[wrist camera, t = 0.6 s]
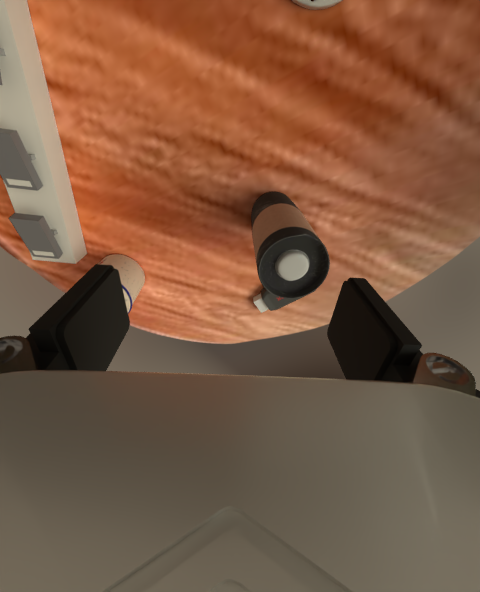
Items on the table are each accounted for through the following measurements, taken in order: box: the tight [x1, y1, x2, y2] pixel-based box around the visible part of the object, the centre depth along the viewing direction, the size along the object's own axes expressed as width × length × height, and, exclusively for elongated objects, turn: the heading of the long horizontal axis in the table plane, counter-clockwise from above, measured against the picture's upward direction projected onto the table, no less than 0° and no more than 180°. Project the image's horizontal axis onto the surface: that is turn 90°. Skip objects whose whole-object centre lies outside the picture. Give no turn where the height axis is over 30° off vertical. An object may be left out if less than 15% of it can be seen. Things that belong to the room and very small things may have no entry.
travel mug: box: [251, 192, 330, 298], centre depth 35 cm, size 8×8×20 cm
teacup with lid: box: [98, 254, 145, 313], centre depth 45 cm, size 12×9×12 cm
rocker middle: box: [0, 128, 43, 191], centre depth 33 cm, size 7×4×2 cm, turn 174°
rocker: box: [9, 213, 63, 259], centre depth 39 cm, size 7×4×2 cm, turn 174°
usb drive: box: [253, 287, 315, 313], centre depth 51 cm, size 5×12×3 cm, turn 123°
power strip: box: [0, 0, 87, 264], centre depth 35 cm, size 36×7×5 cm, turn 174°
